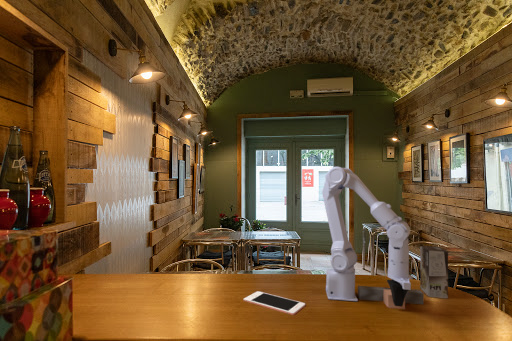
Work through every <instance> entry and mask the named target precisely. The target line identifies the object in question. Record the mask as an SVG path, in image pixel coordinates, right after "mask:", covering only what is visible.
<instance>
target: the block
mask: <svg viewBox="0 0 512 341" xmlns="http://www.w3.org/2000/svg"><path fill="white" fill-rule="evenodd" d="M382 302H383V303H384V304H385V306H386V307H387V308H388V309H402V310H406V303H405V299H404V302H403V306H395V305H394V303H393V298H392V293H391V290H388V289H384V291H383V301H382Z"/></svg>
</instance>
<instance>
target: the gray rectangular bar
mask: <svg viewBox="0 0 512 341" xmlns="http://www.w3.org/2000/svg"><path fill="white" fill-rule="evenodd" d="M384 289H388V290H391V289H390V287H381V286H366V285H365V286H364V285H357V297H358V299H359V300H363V301H377V302H383V291H384ZM405 304H416V305H424V291H423V292H422V290H420V289H411V290H408V291H407V293H406V296H405Z"/></svg>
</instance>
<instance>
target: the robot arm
mask: <svg viewBox="0 0 512 341" xmlns="http://www.w3.org/2000/svg"><path fill="white" fill-rule="evenodd" d="M324 177H325V179H324V180H325V182H324V185H323V188H322V191H321V194H322V198H323V203H324V207H325V213H326V218H327V221H328V222H327V223H328V226H329V232H330V237H331V241H332V244H331V248H330V253H331V257H330V264H331V267H332V268H327V269H326V276H325V277H326V281H325V293H326V296H327V299H328V300H335V301H348V302H349V301H350V302H358V301H359V300H358V299H359V298H357V297H358V296H357V295H356V291H355V290H356V288H355V287H356V269H355V268H356V267H355V265H356V264H357V262H358V255H357V253H356V251H355V250H354V247H353V245H352V243H351V242H350V241H349V238H348V237H349V236H348V233H347V229H346V224H345V221H344V216H343V211H342V205H341V202H340V198H339V196H340V194H341V192H342V191H344V189H345V188H346V189H350V190H353V191H354V192H355V193H356V194H357V196H359V197H360V198H361V199H362V200H363V201H364V202H365V204H367V206H369V208H370V214H371V215H372V217H373V218H374V219H375V220H376V222H378V224H379V225H380V226H381V227H382V228H383V229H384V230H385V231H386V236H387V238H388V258H387V259H388V260H387V262H388V268H387V278H389V279H386V283H387V284H388V286H389V287H388V288H390V289H391V293H392V298H393V303H394V305H395V306H403V302H404V299H405V296H406V293H407V291H408V290H411V286H412V283H411V282H410V280H413V279H414V278H413V275H411V274H410V271H409V269H410V268H409V267H410V265H409V264H410V247H409V244H410V242H409V236H410V235H411V228H410V226H409V225H408V222H406V221H404V220H403V218H402V217H401V216H398V215H397V213H396V212H395V211H393V209H392V205H391V204H390V203H386V202H385V201H379V200H378V199H377V198H376V196H375V195H374V194H373V193H372V191H371V190H370V189H369V188H368V187H367V186H366V184H365V183H364V182H363V181H362V180H361V178H360V177H359V176H358V175H357V174H356V173H354V172H353V170H351V169H350V168H348V167H341V166H333V167H331V168H330V169H329V170H328V172H326V174H325V176H324Z"/></svg>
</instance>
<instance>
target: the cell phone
mask: <svg viewBox="0 0 512 341" xmlns="http://www.w3.org/2000/svg"><path fill="white" fill-rule="evenodd" d="M243 301H244V302H247V303H250V304H254V305H257V306H260V307H263V308H268V309H271V310H275V311H277V312H281V313H285V314H288V315H292V316H294V315H297V313H299V312H300V311H301V310H302V309H303V308H305V307H306V303H305V302H302V301H298V300H294V299H290V298H286V297H282V296H279V295H274V294H270V293H266V292H263V291H258V290H257V291H255V292H253V293H252V294H250V295H248V296H246V297H244V298H243Z"/></svg>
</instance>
